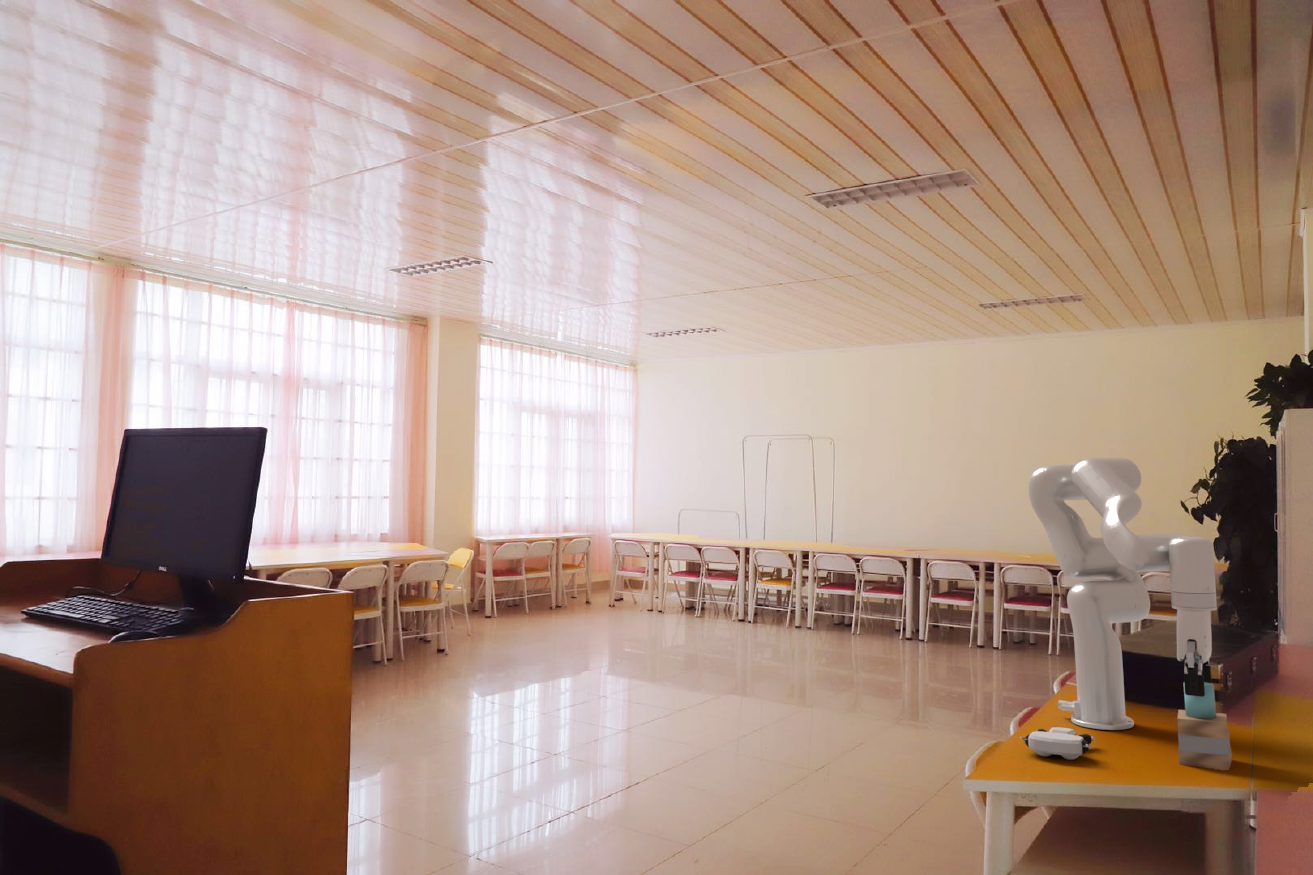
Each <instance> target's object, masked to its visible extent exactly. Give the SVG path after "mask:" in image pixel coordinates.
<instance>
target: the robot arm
mask: <svg viewBox="0 0 1313 875" xmlns="http://www.w3.org/2000/svg"><path fill="white" fill-rule="evenodd" d="M1141 483H1142V473H1141V471H1140V469H1139V467H1138V466H1137V465H1136V463H1135V462H1134V461H1132V460H1130V459H1128V458H1125V457H1092V458H1085V459H1083V460H1081V461H1079V462H1077V463H1076V464H1053V465H1052V464H1051V465H1046V466H1042V467H1038V469H1035V471H1033V472H1032V474H1031V475H1030V477H1029V481H1028V498H1029V502H1030V505H1031V507H1032V509H1033V511H1034V513H1035V514H1036V516H1037V518H1038V519H1039V521H1040V522H1041V524H1042V526H1043V528H1044V530H1045V532H1046V534H1047V537H1048V539H1049V543H1050V545H1051V547H1052V550H1053V552H1054V555H1055V558H1056V560H1057V563H1058V565H1059V567H1060V570H1061V571H1062V573H1063V574H1064V575H1065V576H1066V578H1069V579H1072V580H1089V581H1081V582H1079V583H1076V584H1075V585H1073V586H1072V587H1071V588H1069V590H1068V593H1067V596H1066V604H1067V609H1068V613H1069V617H1070V620H1071V626H1072V632H1073V641H1074V642H1073V643H1074V645H1073V646H1074V662H1075V678H1076V695H1077V699H1076V700H1073V701H1068V700H1061V699H1058V702H1057V707H1058V709H1059V710H1061V711H1064V712H1065V711H1067V712H1068V711H1069V712H1072V714H1071V716H1070V720H1071V722H1072V723H1073V724H1075V725H1078V726H1080V727H1083V728H1089V729H1094V730H1102V731H1103V730H1104V731H1121V730H1128V729H1131V728H1133V727H1134V725H1135V722H1134V720H1133V718H1131V717H1129V716H1127V715H1126V702H1125V701H1126V700H1125V698H1126V697H1125V685H1124V681H1125V680H1124V668H1123V652H1122V644H1121V641H1120V639H1119V637H1118V635H1117V633H1116V632H1115V631H1114V629H1113V627H1112V626H1111V624H1119V623H1120V624H1121V623H1135V622H1140V621H1142V620H1143V621H1144V619H1146V618H1147V617H1148V616H1149V613H1150V611H1151V610H1150V609H1151V600H1150V599H1151V598H1150V595H1149V591H1148V589H1147V587H1146V585H1145V582H1144V580H1143V577H1142V575H1141V573H1149V572H1151V573H1152V572H1154V573H1155V572H1169V577H1170V578H1169V579H1170V580H1169V581H1170V600H1171V608H1172V609H1174V610H1176V611H1177V612H1176V659H1177V661H1179V662H1182V661H1184V669H1183V670H1184V673H1183V687H1184V686H1185V694H1186V695H1191V696H1200V697H1203V696H1204V695H1205V688H1204V682H1206V683H1211V684H1212V672H1211V669H1212V668H1211V665H1210V658H1211V657H1212V651H1213V648H1212V647H1213V646H1212V644H1213V643H1212V642H1213V641H1212V623H1211V622H1212V621H1211V620H1212V619H1211V618H1212V616H1211V612H1213V611H1217V609H1218V608H1217V605H1218V604H1217V590H1216V585H1217V584H1216V573H1215V572H1216V571H1215V553H1214V544H1213V542H1212V540H1211V539H1209V538H1207V537H1202V536H1186V535H1184V534H1183V535H1182V534H1180V533H1150V534H1149V533H1147V534H1136V533H1134V532H1132V530H1131V529H1130V528H1129V527H1128V526H1127V525H1126V524H1128V523H1129V522H1131V521H1132V520H1133V519H1135V517H1137V515H1138V514H1139V512H1140V511H1141V508H1142V506H1143V505H1142V500H1141V496H1140V495H1139V494H1138V493H1137V491H1138V489H1139V488H1140V487H1141ZM1083 500H1087V501H1088V503H1089V504H1090V505H1091V506H1092V507H1093V508H1094V510H1095V511H1096V512H1097V513H1098V514H1099V515H1100V516H1101V517H1102V519H1101V524H1100V531H1101V532H1100V533H1101V537H1093V536H1092V535H1090V533H1089V531H1088V530H1087V526H1086V525H1085V522H1084V520H1083V518H1082V517H1081V515H1080V514H1079V513H1078V512H1077V511H1075V510H1074V508H1072V507H1071V506H1070V505H1068V504H1067V503H1066V502H1065V501H1083ZM1099 579H1100V580H1099ZM1101 579H1104V580H1101Z"/></svg>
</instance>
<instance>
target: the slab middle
mask: <svg viewBox="0 0 1313 875" xmlns="http://www.w3.org/2000/svg"><path fill="white" fill-rule="evenodd" d="M1177 739H1178V750H1180V751H1189V752H1197V753H1206V754H1214V755H1223V756H1229V750H1230V746H1231V742H1230V730H1229V729H1228V740H1227V739H1217V738H1207V737H1197V736H1187V735H1178V734H1177Z"/></svg>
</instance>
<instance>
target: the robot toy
mask: <svg viewBox="0 0 1313 875" xmlns="http://www.w3.org/2000/svg"><path fill="white" fill-rule="evenodd" d="M1019 739H1020V740H1021V739H1022V741H1023V742H1024V743H1025V745H1026V746H1027V748H1028V747H1029V750H1031V751H1034V752H1035V753H1036V754H1037V755H1039V756H1040V757H1051V756H1052V755H1057V756H1059V755H1060V756H1061V757H1063V758H1064V759H1065V760H1069V761H1070V760H1071V761H1073V760H1076V759H1077V758H1079V756H1080V757H1081V756H1082V755H1083V754H1085V753H1086V752H1088V751H1089V750H1091V748H1092V746H1091V745H1090V744H1092V742H1095V741H1096V737H1095V736H1092V735H1091V734H1088V733H1083V734H1078V735H1077V732H1076V731H1075V730H1074V729H1073V728H1068V727H1057V726H1055V727H1054V726H1052V727H1051V728H1050V729H1049V731H1048V730H1046V729H1044V728H1038V729H1037V730H1036V731H1032V732H1031V733H1028V734H1027V735H1026V736H1025V737H1023V736H1019Z"/></svg>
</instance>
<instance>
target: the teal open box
mask: <svg viewBox="0 0 1313 875" xmlns="http://www.w3.org/2000/svg"><path fill="white" fill-rule="evenodd" d="M1204 688H1205V695H1204V696H1203V697H1200V696H1191V695H1186V694H1185V686H1184V685H1183V693H1184V694H1183V696H1184V710H1185V712H1186V715H1187V716H1189V717H1193V718H1201V719H1213V718H1216V713H1217V712H1216V698H1215V697H1216V696H1215V684H1213V683H1212V682H1211V683H1206V682H1204Z"/></svg>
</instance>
